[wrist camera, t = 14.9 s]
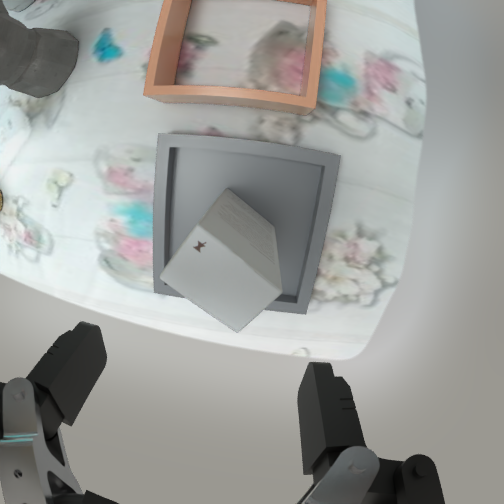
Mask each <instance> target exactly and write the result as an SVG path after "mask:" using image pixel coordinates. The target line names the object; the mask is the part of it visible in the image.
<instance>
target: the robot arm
mask: <svg viewBox="0 0 504 504" xmlns="http://www.w3.org/2000/svg"><path fill="white" fill-rule="evenodd" d="M2 1H3V3H4V6H5V8H6V9H8V10H12V11H15V12H20V11H22V10H24V9H25V8H27V7H28V6H29V5H30V4H31V3H32V2H33V1H34V0H2ZM106 361H107V354H106V350H105V346H104V342H103V338H102V334H101V330H100V327H99V326H97V325H94V324H90V323H86V322H83V321H82V322H79V324H78V325H77V326H76V327H75V328H74V329H73V330H72V331H71V330H69V331H68V332H66V333H64V334H62V335H61V336H59V337H58V339H57V340H56V341H55V342H54V343H53V346H51V347H50V348H49V349H48V351H47V353H45V354H44V356H43V357H42V358H41V359H40V361H39V362H38V363H37V364H36V366H35V367H34V369H33V370H32V371H31V372H30V374H29V375H28V376H27V377H26V378H14V379H12V380H10V381H9V382H8V383H7V384H6V383H2V382H0V481H1V486H2V491H3V496H4V500H5V504H118V503H117V502H114V501H112V500H109V499H107V498H104V497H102V496H99V495H97V494H95V493H92V492H90V491H88V490H86V492H85V494H83V493H82V490H81V488H80V485H79V483H78V481H77V480H76V478H75V476H74V475H73V473H72V471H71V469H70V466H69V462H68V458H67V455H66V451H65V447H64V443H63V438H62V434H61V430H60V428H59V426H60V425H61V422H63V423H65V424H68V425H69V426H72V425H73V423H74V421H75V419H76V417H77V415H78V414H79V412H80V410H81V408H82V406H83V404H84V403H85V401H86V399H87V397H88V395H89V394H90V392H91V390H92V388H93V387H94V385H95V383H96V381H97V380H98V378H99V376H100V375H101V373H102V371H103V369H104V368H105V365H106ZM355 408H356V406H355V403H354V401H353V396H352V392H351V389H350V386H349V385H348V384H347V382H346V381H345V380H344V379H343V377H334V374H333V369H332V366H331V364H330V363H324V362H323V363H322V362H309V364H308V366H307V369H306V372H305V374H304V377H303V380H302V382H301V385H300V387H299V391H298V413H299V424H300V436H301V448H302V461H303V474H304V475H311V474H313V479H314V483H313V484H312V485H311V486H310V487H309V488H308V490H307V491H306V492H305V493H304V495H303V496H302V497H301V498H300V499H299V500H298V502H297V503H296V504H445V501H444V497H443V493H442V488H441V484H440V480H439V476H438V473H437V469H436V466H435V464H434V462H433V461H432V460H431V459H430V458H429V457H428V456H425V455H421V454H417V455H413V456H411V457H409V458H408V459H407V460H406V461H395V460H387V459H382V458H379V457H377V455H376V454H375V453H374V452H373V451H372V450H370V449H368V448H367V446H366V444H365V441H364V437H363V433H362V429H361V425H360V421H359V418H358V414H357V411H356V409H355Z"/></svg>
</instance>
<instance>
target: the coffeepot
mask: <svg viewBox="0 0 504 504" xmlns="http://www.w3.org/2000/svg"><path fill="white" fill-rule="evenodd" d="M78 42H79V41H77V40H76V39H75V37H73V36H72V35H71V34H70V33H68V32H67V31H62V30H54V29H43V28H32V29H28V28H27V27H26V26H25V25H24V24H22V23H21V22H19V21H18V20H16V19H14V18H12V17H10V16H9V14H8V12H7V10H6V8H5V6H4V3H3V1H2V0H0V85H6V86H7V87H8V88H9V89H13V90H16V91H19V92H22V93H25V94H28V95H31V96H34V97H37V98H40V97H43V96H47V95H50V94H52V93H54V92H57V91H58V90H59V89H60V87H61V86H62V85H63V84H64V83H65V81H66V80H67V79H68V77H69V76H70V74H71V72H72V70H73V68H74V67H75V63H76V60H77V56H78Z"/></svg>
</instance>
